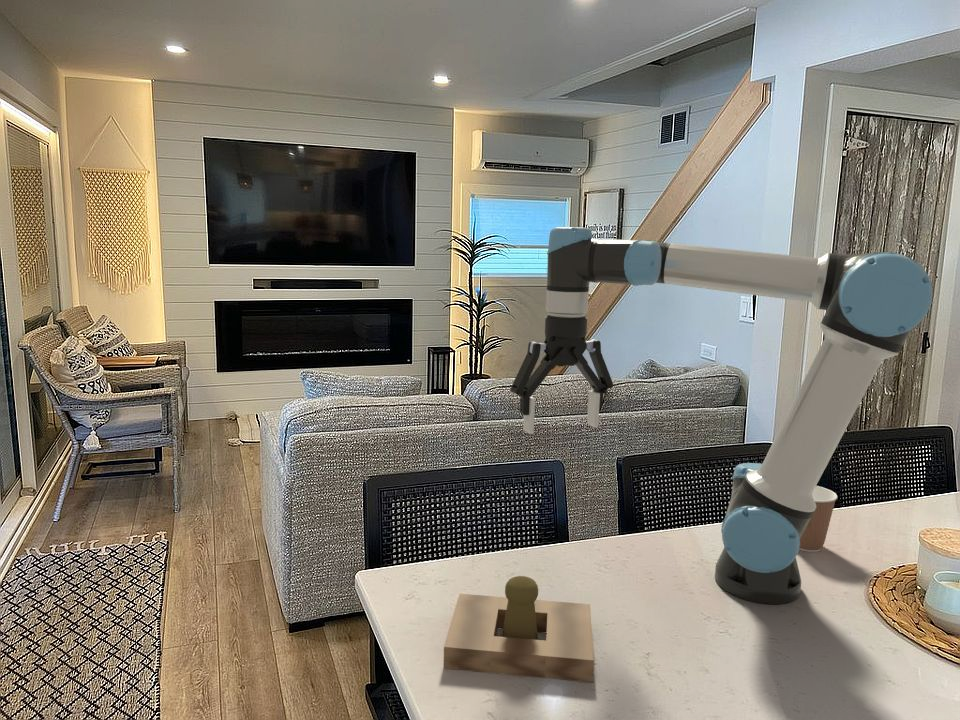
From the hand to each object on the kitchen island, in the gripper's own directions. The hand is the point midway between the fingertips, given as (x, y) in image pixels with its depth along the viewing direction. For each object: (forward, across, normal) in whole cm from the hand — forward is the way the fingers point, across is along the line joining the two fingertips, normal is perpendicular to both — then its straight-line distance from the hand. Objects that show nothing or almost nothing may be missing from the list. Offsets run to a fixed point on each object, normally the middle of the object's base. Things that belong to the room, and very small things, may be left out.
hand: (561, 428), depth 131 cm
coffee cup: (+29, -57, +8) cm, 64 cm away
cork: (+29, +17, +19) cm, 39 cm away
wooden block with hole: (+29, +17, +19) cm, 38 cm away
